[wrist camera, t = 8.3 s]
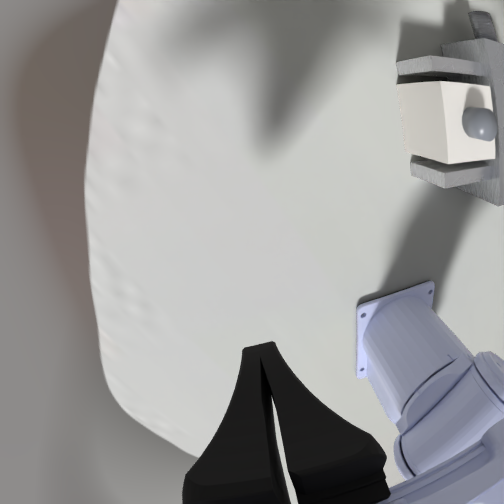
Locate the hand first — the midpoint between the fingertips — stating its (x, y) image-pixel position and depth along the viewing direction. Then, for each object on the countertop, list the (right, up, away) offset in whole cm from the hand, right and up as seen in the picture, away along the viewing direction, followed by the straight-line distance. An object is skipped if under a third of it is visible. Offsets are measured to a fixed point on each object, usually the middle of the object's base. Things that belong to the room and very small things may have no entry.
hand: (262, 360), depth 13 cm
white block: (+12, +15, +5) cm, 20 cm away
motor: (+16, +17, +5) cm, 24 cm away
